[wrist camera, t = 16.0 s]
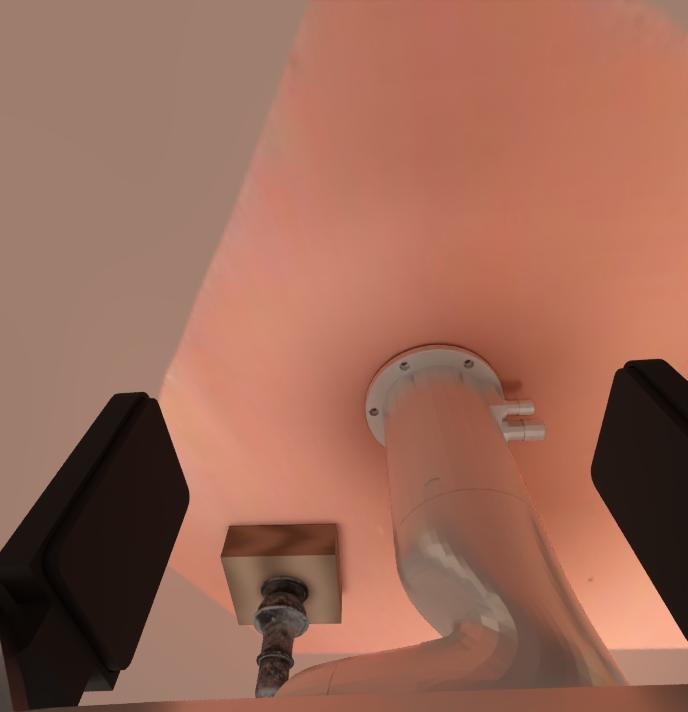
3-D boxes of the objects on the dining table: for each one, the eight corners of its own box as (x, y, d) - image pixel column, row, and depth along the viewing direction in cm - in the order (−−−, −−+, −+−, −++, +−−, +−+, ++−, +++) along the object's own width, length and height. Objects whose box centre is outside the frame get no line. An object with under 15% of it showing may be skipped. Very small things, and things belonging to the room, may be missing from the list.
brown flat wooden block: (336, 523, 52) (334, 554, 49) (341, 591, 58) (341, 623, 55) (229, 526, 53) (220, 557, 49) (245, 593, 59) (239, 625, 55)
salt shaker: (307, 610, 54) (296, 736, 43) (255, 603, 53) (232, 729, 43) (315, 578, 51) (305, 704, 40) (261, 570, 50) (236, 696, 40)
